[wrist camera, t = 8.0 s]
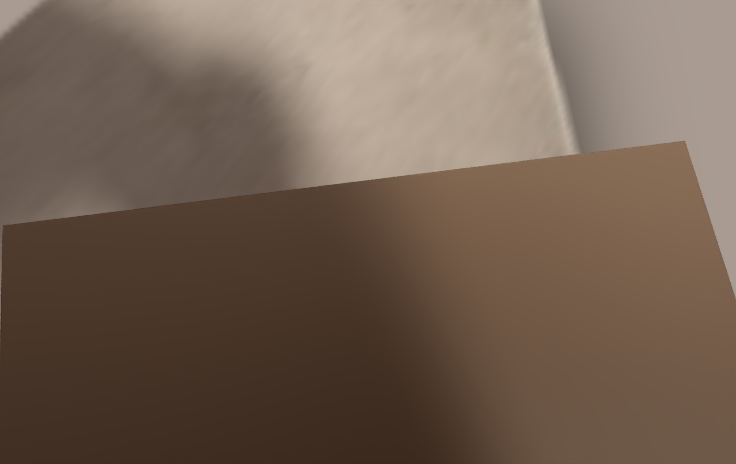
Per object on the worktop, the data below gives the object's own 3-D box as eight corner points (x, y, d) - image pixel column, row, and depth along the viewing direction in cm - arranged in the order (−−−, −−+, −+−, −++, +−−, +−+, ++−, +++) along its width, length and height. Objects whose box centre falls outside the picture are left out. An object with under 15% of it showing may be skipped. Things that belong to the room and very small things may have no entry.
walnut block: (446, 457, 15) (958, 995, 3) (288, 485, 15) (-19, 1291, 2) (419, 300, 16) (684, 141, 4) (271, 322, 16) (1, 226, 3)
